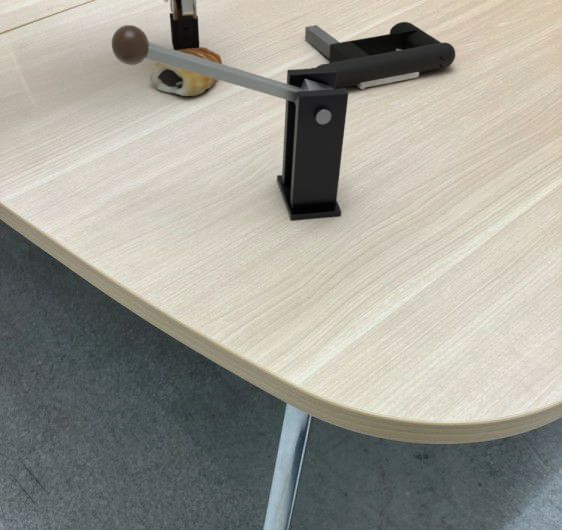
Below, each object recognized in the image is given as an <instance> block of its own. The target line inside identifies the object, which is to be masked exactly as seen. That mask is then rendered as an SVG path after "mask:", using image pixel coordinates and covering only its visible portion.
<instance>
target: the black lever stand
mask: <svg viewBox="0 0 562 530" xmlns="http://www.w3.org/2000/svg"><path fill="white" fill-rule="evenodd" d="M312 68H313V69H311V68H299V69H298V68H296V69H287V70H286V72H287V73H286V84H289V85H292V86H296V87H299V88H301V86H302V84H303V82H304V79H308V80H311V81H314V82H317V83H321V84H324V85H327V86H330V87H332V88H333V89H329V90H312V91H297V99H296V104H295V102H293V101H289V100H286V99H285V110H284V111H285V112H284V130H283V151H282V154H283V155H282V169H281V170H282V171H281V174H278V175H277V176H276V182H277V185H278V189H279V192H280V194H281V196H282V199H283V203H284V205H285V208H286V211H287V214H288V217H289V219H290V221H306V220H316V219H328V218H339V217H341V216H342V210H341V208H340V205H339V202H338V200H337V198H338V190H339V182H340V181H339V180H340V174H341V173H340V172H341V164H342V163H341V162H342V155H343V146H344V135H345V129H346V128H345V126H346V118H347V111H348V102H349V101H348V100H349V93H348V91H347V89H346V88H338V89H335V87H336V77H337V71H336V70H335V68H334V67H331V68H315V67H312Z"/></svg>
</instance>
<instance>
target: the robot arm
mask: <svg viewBox="0 0 562 530" xmlns="http://www.w3.org/2000/svg"><path fill="white" fill-rule="evenodd" d="M162 1H163V2H164V3H169V5H170V7H169V8H170V12H169V23H170V24H169V25H170V36H171V44H172V49H173V50H182V49H188V48H199V47H200V30H199V16H198V14H197V12H198V11H197V0H162Z"/></svg>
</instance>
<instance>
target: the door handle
mask: <svg viewBox="0 0 562 530" xmlns="http://www.w3.org/2000/svg"><path fill="white" fill-rule="evenodd" d="M304 28H305V29H304V30H305V32H304V40H305V39H306V40H307V41H308V42H307V41H306V40H305V41H306V42H307V43H309V44H310V45H311V46H312V47H314V48H315V50H317V51H319V52H320V53H321V54H323V55H324V56H325V57H327V59H328V63H323V64H319V65H317V66H316V67H311V68H310V69H313V68H331V67H334V68H335V70H336V71H337V77H336V87H335V89H344V88H348V87H352V86H353V87H354V86H357V88H359V89H360V90H362V91H363V90H365V89H366V88H370V87H376V86H381V85H387V84H391V83H396V82H402V81H407V80H412V79H416V78H419V76H420V74H421V73H425V72H430V71H431V72H432V71H436V70H441V69H446V68H449V67H450V66H451V65H452V64H453V63H454V62H455V59H456V49H455V47H454V46H453V45H452V44H451V43H449V42H441V41H440V40H438V39H436V38H435V37H433V36H432V35H430V34H428V32H426V31H424V30H422V29H420V28H419V27H417V26H416V25H414V24H413V23H412V22H408V21H401V22H397V23H396V24H394V25H393V26H391V28H390V29H389V30H390V31H389V33H388V34H382V35H376V36H371V37H365V38H359V39H354V40H353V39H352V40H348V41H341V42H340V41H338V40H337V39H336V38H335V37H333V36H332V35H331V34H329V33H328V32H326V30H324V29H323V28H321V27H320V26H318V25H317V24H315V25H308V26H305V27H304Z"/></svg>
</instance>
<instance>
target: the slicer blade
mask: <svg viewBox="0 0 562 530" xmlns="http://www.w3.org/2000/svg"><path fill="white" fill-rule="evenodd" d="M111 50H112V52H113V54H114V56H115V58H116V59H117V60H118V61H119V62H121V63H122V64H123V65H127V66H137V65H140V64H142V62H144V61H145V59H146V60H149V61H153V62H156V63H158V62H159V63H163V64H166V65H170V66H173V67H176V68H180V69H183V70H187V71H190V72H193V73H197V74H200V75H204V76H207V77H211V78H214V79H216V81H220V82H221V81H222V82H225V83H228V84H232V85H235V86H238V87H241V88H245V89H249V90H252V91H255V92H258V93H262V94H266V95H269V96H272V97H276V98H279V99H283V100H285V101H286V100H289V101H293V102H295V104H296V99H297V91H312V90H329V89H333V88H332V87H330V86H327V85H324V84H321V83H317V82H314V81H311V80H308V79H304V82H303V84H302V86H301V88H299V87H296V86H292V85H289V84H287V82H282V81H279V80H275V79H272V78H270V77H266V76H262V75H259V74H256V73H252V72H249V71H245V70H243V69H239V68H237V67H236V68H235V67H232V66H229V65H226V64H223V63H222V64H219V63H216V62H213V61H209V60H206V59H203V58H200V57H196V56H193V55H190V54H186V53H183V52H180V51H176V50H174V48H170V47H167V46H163V45H160V44H156V43H153V42H150V41H149V38H148V37H147V34H146V32H144V31H143V30H142V29H141V28H139V27H138V26H136V25H132V24H127V25H123V26H121V27H119V28H118V29H117V30H116V31H115V32H114V33H113V35H112V38H111Z"/></svg>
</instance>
